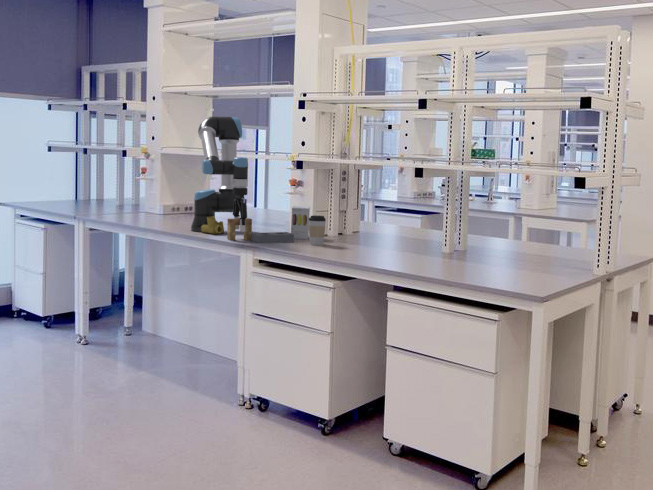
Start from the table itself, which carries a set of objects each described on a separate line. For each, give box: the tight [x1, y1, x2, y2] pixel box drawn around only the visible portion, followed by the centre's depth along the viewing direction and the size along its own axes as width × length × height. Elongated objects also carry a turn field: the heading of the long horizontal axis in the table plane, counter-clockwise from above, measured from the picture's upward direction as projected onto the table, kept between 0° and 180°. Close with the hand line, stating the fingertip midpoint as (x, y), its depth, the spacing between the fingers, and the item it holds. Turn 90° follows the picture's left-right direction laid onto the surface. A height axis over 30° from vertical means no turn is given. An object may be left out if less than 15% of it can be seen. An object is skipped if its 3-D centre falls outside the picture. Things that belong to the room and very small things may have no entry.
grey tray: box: [250, 231, 295, 244], centre depth 379 cm, size 20×10×4 cm, turn 116°
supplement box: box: [290, 206, 311, 240], centre depth 396 cm, size 10×9×17 cm
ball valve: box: [201, 215, 225, 235], centre depth 403 cm, size 13×10×10 cm
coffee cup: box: [309, 215, 327, 246], centre depth 372 cm, size 9×9×15 cm
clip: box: [226, 217, 253, 241], centre depth 381 cm, size 12×4×11 cm, turn 116°
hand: (239, 230), depth 381 cm, fingers open, 9 cm apart
